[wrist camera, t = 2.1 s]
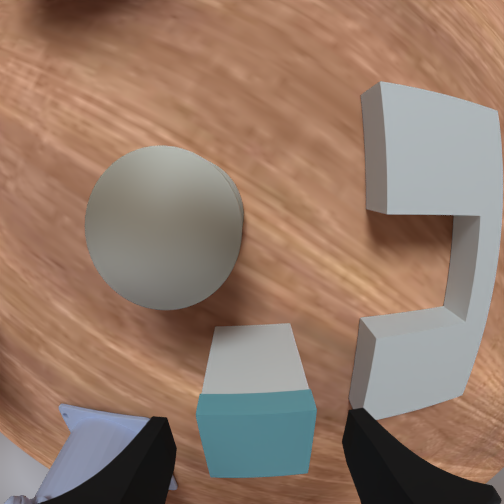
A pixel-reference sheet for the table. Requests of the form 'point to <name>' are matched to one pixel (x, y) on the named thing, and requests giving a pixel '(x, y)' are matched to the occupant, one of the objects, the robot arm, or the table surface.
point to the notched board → (462, 252)
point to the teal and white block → (255, 404)
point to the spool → (164, 227)
